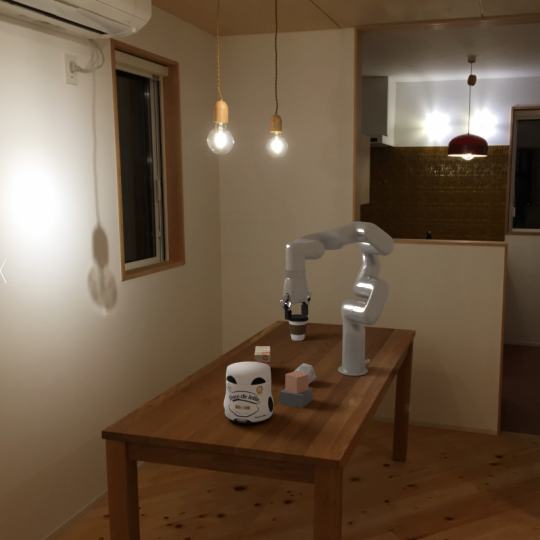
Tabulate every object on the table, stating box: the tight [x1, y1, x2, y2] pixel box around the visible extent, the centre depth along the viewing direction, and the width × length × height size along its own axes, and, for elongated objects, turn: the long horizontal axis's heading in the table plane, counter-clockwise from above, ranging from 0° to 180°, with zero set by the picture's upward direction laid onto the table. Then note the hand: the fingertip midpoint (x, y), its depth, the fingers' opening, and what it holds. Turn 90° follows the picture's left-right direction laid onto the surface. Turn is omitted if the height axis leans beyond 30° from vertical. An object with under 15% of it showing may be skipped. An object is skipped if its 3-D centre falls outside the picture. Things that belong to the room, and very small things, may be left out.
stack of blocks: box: [254, 345, 271, 367], centre depth 265 cm, size 21×6×12 cm, turn 179°
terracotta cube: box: [284, 370, 309, 394], centre depth 234 cm, size 6×6×6 cm
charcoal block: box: [279, 387, 314, 409], centre depth 234 cm, size 9×9×5 cm
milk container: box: [223, 361, 275, 425], centre depth 218 cm, size 17×17×18 cm
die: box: [294, 362, 317, 385], centre depth 255 cm, size 8×9×10 cm
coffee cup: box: [288, 313, 309, 342], centre depth 322 cm, size 11×11×12 cm
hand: (296, 317), depth 246 cm, fingers open, 9 cm apart
